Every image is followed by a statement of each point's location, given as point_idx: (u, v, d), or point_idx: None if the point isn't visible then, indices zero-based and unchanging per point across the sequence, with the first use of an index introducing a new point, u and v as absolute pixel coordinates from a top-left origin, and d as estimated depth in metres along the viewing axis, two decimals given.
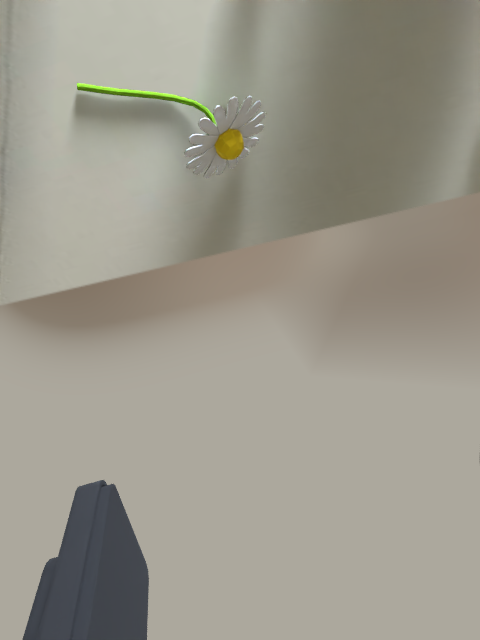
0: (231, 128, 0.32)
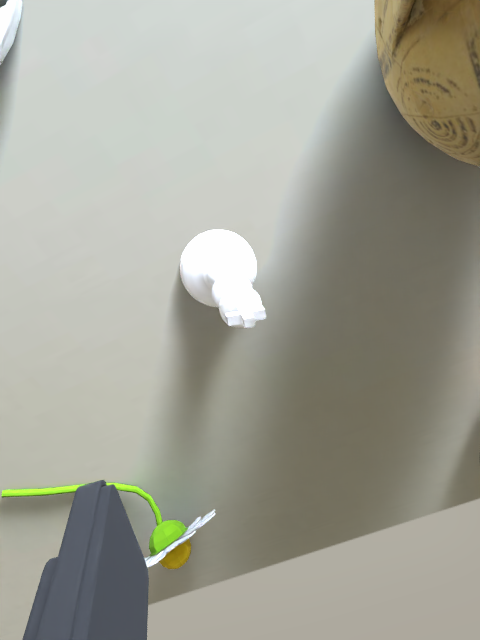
0: None
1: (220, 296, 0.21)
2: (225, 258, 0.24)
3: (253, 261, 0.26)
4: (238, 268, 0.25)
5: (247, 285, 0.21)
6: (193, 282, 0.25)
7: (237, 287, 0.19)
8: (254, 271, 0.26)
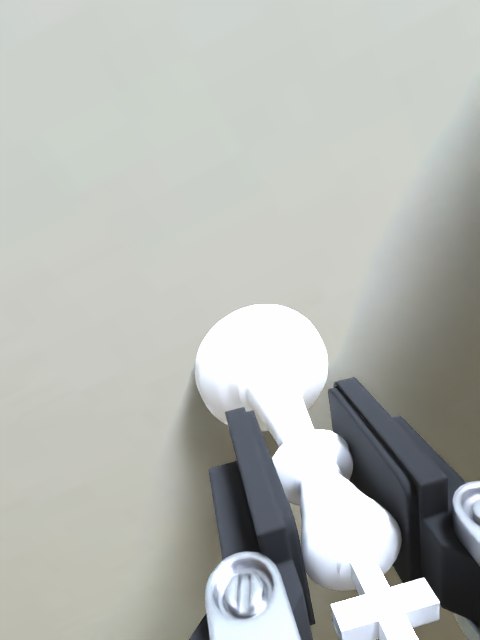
0: None
1: (288, 480, 0.10)
2: (280, 362, 0.13)
3: (324, 358, 0.15)
4: (301, 377, 0.14)
5: (345, 456, 0.10)
6: (219, 398, 0.14)
7: (350, 511, 0.08)
8: (324, 374, 0.15)
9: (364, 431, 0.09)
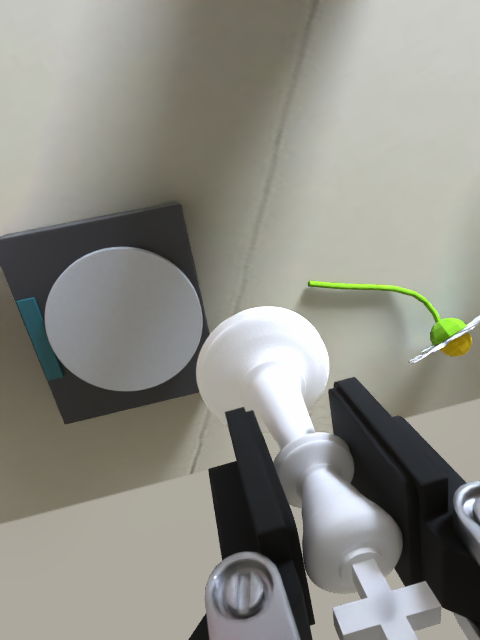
0: None
1: (290, 483, 0.10)
2: (281, 364, 0.13)
3: (325, 360, 0.15)
4: (302, 379, 0.14)
5: (346, 459, 0.10)
6: (220, 399, 0.14)
7: (352, 515, 0.08)
8: (325, 377, 0.15)
9: (364, 431, 0.09)
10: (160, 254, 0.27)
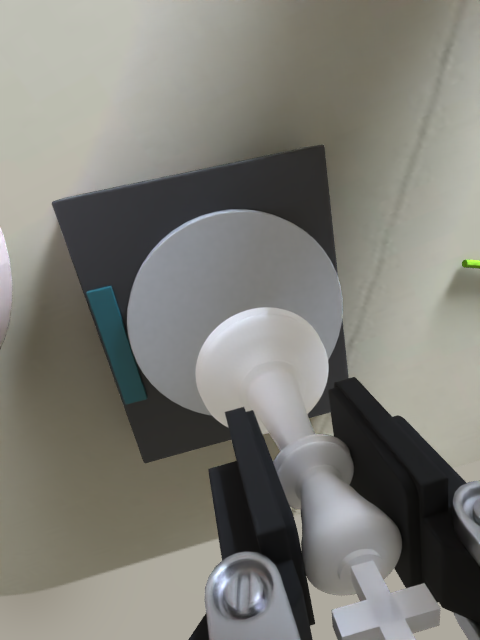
0: None
1: (289, 484, 0.10)
2: (280, 365, 0.13)
3: (324, 361, 0.15)
4: (302, 380, 0.14)
5: (346, 460, 0.10)
6: (219, 400, 0.14)
7: (351, 516, 0.08)
8: (324, 377, 0.15)
9: (364, 431, 0.09)
10: (289, 220, 0.19)
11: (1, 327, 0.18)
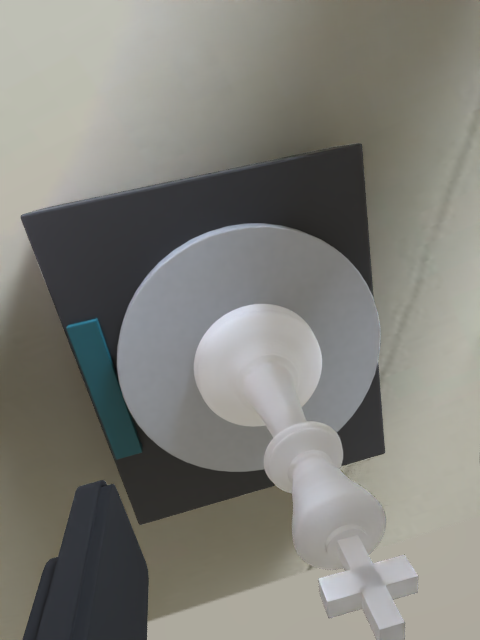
0: None
1: (281, 469, 0.10)
2: (275, 359, 0.14)
3: (318, 355, 0.15)
4: (296, 374, 0.14)
5: (335, 446, 0.10)
6: (217, 393, 0.15)
7: (337, 494, 0.08)
8: (318, 371, 0.15)
9: None
10: (317, 236, 0.15)
11: None
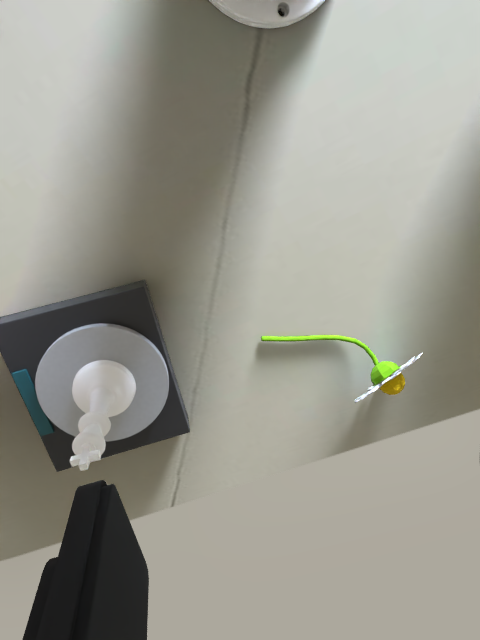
0: None
1: (83, 429, 0.28)
2: (103, 386, 0.31)
3: (130, 383, 0.33)
4: (115, 392, 0.32)
5: (104, 420, 0.28)
6: (81, 402, 0.32)
7: (84, 433, 0.25)
8: (131, 390, 0.33)
9: None
10: (129, 327, 0.33)
11: None
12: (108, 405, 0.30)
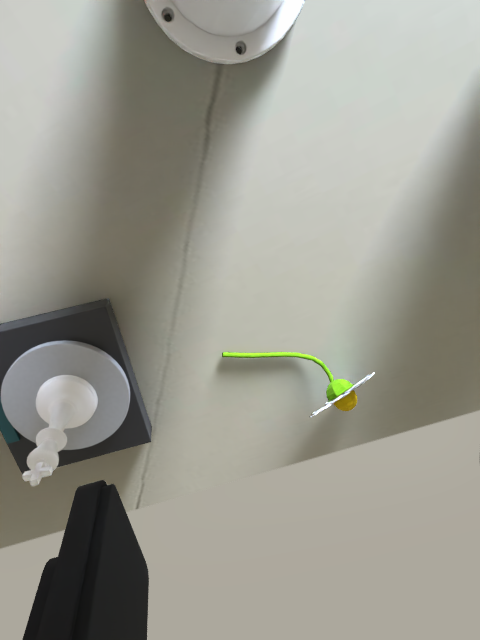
0: (349, 391, 0.39)
1: (40, 444, 0.30)
2: (64, 400, 0.33)
3: (91, 397, 0.34)
4: (75, 406, 0.34)
5: (60, 436, 0.30)
6: (44, 414, 0.34)
7: (38, 449, 0.27)
8: (92, 404, 0.35)
9: None
10: (91, 344, 0.35)
11: None
12: (67, 419, 0.32)
